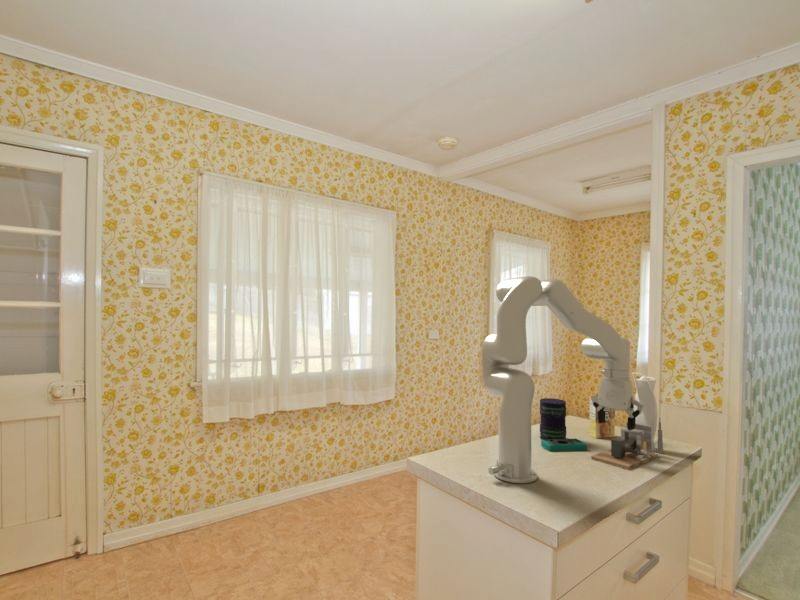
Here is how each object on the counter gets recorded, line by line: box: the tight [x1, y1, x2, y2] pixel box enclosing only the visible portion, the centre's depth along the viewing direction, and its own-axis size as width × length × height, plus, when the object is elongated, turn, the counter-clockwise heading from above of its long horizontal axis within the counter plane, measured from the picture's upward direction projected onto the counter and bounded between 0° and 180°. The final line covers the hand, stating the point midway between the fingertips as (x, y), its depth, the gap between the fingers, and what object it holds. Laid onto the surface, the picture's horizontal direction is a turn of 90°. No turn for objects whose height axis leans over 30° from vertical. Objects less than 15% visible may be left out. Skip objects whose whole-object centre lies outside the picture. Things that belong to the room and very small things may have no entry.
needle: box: [640, 442, 647, 455], centre depth 139 cm, size 1×2×4 cm
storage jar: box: [539, 397, 567, 440], centre depth 163 cm, size 10×10×15 cm
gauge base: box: [590, 421, 659, 471], centre depth 141 cm, size 21×12×10 cm, turn 126°
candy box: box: [589, 397, 616, 439], centre depth 167 cm, size 9×4×15 cm, turn 103°
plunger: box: [610, 437, 639, 458], centre depth 140 cm, size 13×6×6 cm, turn 126°
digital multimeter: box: [540, 438, 588, 452], centre depth 152 cm, size 7×15×3 cm, turn 96°
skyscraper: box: [631, 372, 665, 455], centre depth 151 cm, size 8×8×28 cm
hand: (615, 426), depth 138 cm, fingers open, 9 cm apart
